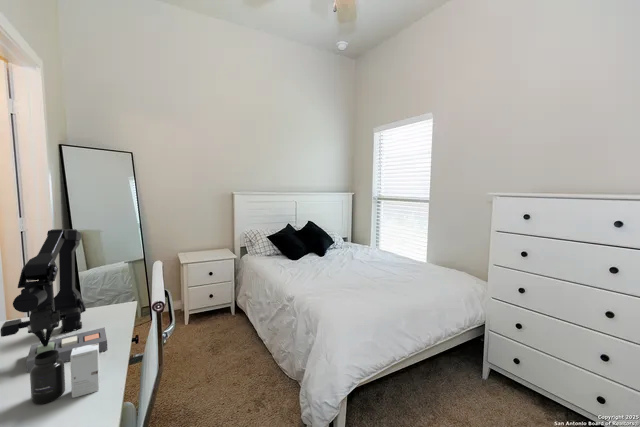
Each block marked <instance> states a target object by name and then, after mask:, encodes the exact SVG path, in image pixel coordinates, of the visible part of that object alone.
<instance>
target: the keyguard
mask: <svg viewBox="0 0 640 427" xmlns="http://www.w3.org/2000/svg"><path fill="white" fill-rule="evenodd" d="M97 333H99V338H97V339H93V340H90V341H86V342H85V336H89V335H93V334H97ZM74 336H77V341H78V344H74V345H70V346H66V347H62V339H65V338H69V337H74ZM50 342H54V345H55V349H54V350H57V351H58V352H59V359H61V360H62V361H63V362H64V363H65V362H68V361H70V356H71V352H72V349H73V348H78V347H82V346H86V345H92V344H97V343H99V353H101V352H105V351H108V349H109V348H108V339H107V333H106V328H105V327H100V328H96V329H92V330H88V331H84V332H80V333H75V334H72V335H71V334H70V335H65V336H63V337H58V338H53V339H49V342H48V343H50ZM38 345H42V343H41V342H37V343H33V344H31V345H30V347H29V352H28V355H27V358H26V361H25V362H26V372H27V373H30V371H31V369H32V368H33V367H34V366H35V365H34V362H35V356H37V355H38V354H40V353H38V354H37V347H38ZM70 362H71V361H70Z"/></svg>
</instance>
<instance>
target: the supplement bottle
mask: <svg viewBox="0 0 640 427" xmlns="http://www.w3.org/2000/svg"><path fill="white" fill-rule="evenodd" d="M34 365H35V366H34V367H33V368H32V369H31V371H30V372H29V381H30V382H29V383H30V397H31V398H30V399H31V403H32V404H33V405H38V406H39V405H46V404H49V403H51V402H54V401H57V400H58V399H59V398H61V397H62V396H63V395H64V394H65V393H66V379H65V378H66V377H65V362H63V361H62V360H61V359H59V352H58V351H57V350H49V351H45V352H42V353H40V354H38V355H37V356H35V362H34Z"/></svg>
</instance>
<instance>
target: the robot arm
mask: <svg viewBox="0 0 640 427" xmlns="http://www.w3.org/2000/svg"><path fill="white" fill-rule="evenodd" d="M46 235H47V236H46V238H45V240H44V242H43V244H42V246H41V248H40V249H39V251H38V253H37V255H35V256H34V257H32V258H30V259H28V260H27V262H26V263H25V265H24V266H23V267H22V268H21V272H20V276H19V280H18V284H17V289H20V293H19V295H17V296H16V297H14V299H13V301H12V307H13V308H14V310H16V311H17V312H20V313H29V312H30V315H29V317H28V318H29V320H26V321H22V318H18V319H13V320H8V321H5V322H4V323H2V325H1V328H0V337H1V338H3V337H8V336H13V335H16V334H17V333H18V332H19V331H20V329H25V328H27V333H28V334H34V336H36V337H37V338H38V340H39V341H40V343H42V345H43V346H44V347H45V346H47V345H48V342H49V340H51V339H50V338H51V336H52V333H53V332H54V329H56V328H59V326H60V322H61V326H60V331H59V333H60V334H62V333H68V332H72V331H75V330H76V331H77V330H80V329H81V330H82V328H83V321H81V320H82V316H81V315H82V314H83V313H85V312H86V311H87V309H86V308H87V306H86V303H85V301H84V300H83V298H82V297H81V296H82V295H81V292H80V291H79V290H78V289H77V288H76V272H75V271H76V265H75V264H76V262H75V252H76V250H77V248H79V246H80V243H81V242H80V241H81V239H82V233H81V231H78V229H76V228H75V229H74V228H73V229H72V228H71V229H65V228H56V229H52V228H51V229H49V230H47V234H46ZM57 258H58V261H59V262H58V263H59V267H58V266H57V264H56V259H57ZM58 272H59V273H58ZM58 274H59V291H58V293H57V294H56V295H55V294H54V292H55V291H54V282H55V281H56V278H57V275H58ZM44 330H45V331H46V332H45V331H44Z"/></svg>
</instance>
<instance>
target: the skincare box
mask: <svg viewBox="0 0 640 427" xmlns="http://www.w3.org/2000/svg"><path fill="white" fill-rule="evenodd" d="M100 371H101V370H100V352H99V343H97V344H92V345H86V346H82V347H78V348H73V349H72V352H71V356H70V382H71V383H70V386H71V387H70V388H71V398H72V399H73V398H77V397H81V396H84V395H85V396H86V395H89V394H91V393H95V392H98V391H99V390H100V383H101V379H100V378H101V375H100V374H101V372H100Z"/></svg>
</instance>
